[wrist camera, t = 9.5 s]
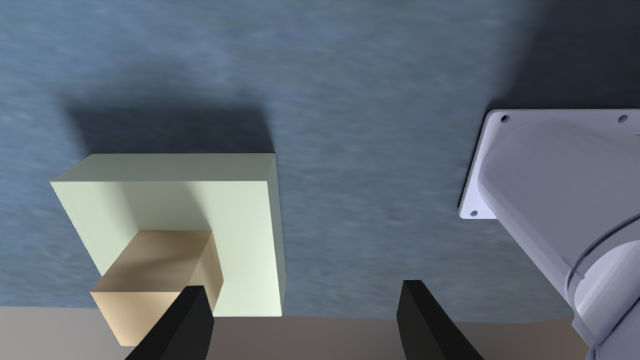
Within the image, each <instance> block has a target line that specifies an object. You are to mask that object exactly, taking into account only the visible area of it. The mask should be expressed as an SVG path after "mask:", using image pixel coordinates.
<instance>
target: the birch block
mask: <svg viewBox="0 0 640 360" xmlns="http://www.w3.org/2000/svg"><path fill="white" fill-rule="evenodd" d="M223 282H224V279H223V275H222V270H221V266H220V261H219V257H218V252H217V248H216V244H215V239H214V235H213V231H138V232H137V233H136V235H135V236H134V237H133V238H132V240H131V241H130V242H129V244H128V245H127V246H126V247H125V249H124V250H123V251H122V252H121V254H120V255H119V256H118V257H117V259H116V260H115V261H114V263H113V264H112V265H111V266H110V268H109V269H108V270H107V271H106V273H105V274H104V275H103V276H102V278H101V279H100V280H99V282H98V283H97V284H96V285H95V287H94V288H93V289H92V290H91V292H90V293H91V295H92V296H93V298H94V300H95V302H96V303H97V305H98V307H99V308H100V310H101V312H102V314H103V315H104V317H105V319H106V320H107V322H108V324H109V326H110V327H111V329H112V331H113V332H114V334H115V336H116V338H117V340H118V341H119V343H120V345H121V346H137V345H138V344H139V343H140V342H141V340H142V339H143V338H144V337H145V336H146V334H147V333H148V332H149V331H150V330H151V329H152V327H153V326H154V325H155V324H156V323H157V321H158V320H159V319H160V318H161V316H162V315H163V314H164V313H165V312H166V310H167V309H168V308H169V307H170V305H171V304H172V303H173V301H174V300H175V299H176V298H177V296H178V295H179V294H180V293H181V291H182V290H183V289H184V288H185V287H186V286H192V285H204V287H205V291H206V294H207V297H208V301H209V304H210V307H211V311H212V314H213V312H214V309H215V306H216V303H217V300H218V297H219V294H220V291H221V288H222V285H223Z"/></svg>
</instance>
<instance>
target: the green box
mask: <svg viewBox="0 0 640 360" xmlns="http://www.w3.org/2000/svg"><path fill="white" fill-rule="evenodd" d="M50 183H51V185H52V187H53V189H54V190H55V192H56V194H57V196H58V198H59V199H60V201H61V203H62V205H63V207H64V209H65V210H66V212H67V214H68V216H69V218H70V219H71V221H72V223H73V225H74V227H75V228H76V230H77V232H78V234H79V236H80V237H81V239H82V241H83V243H84V245H85V247H86V248H87V250H88V252H89V254H90V256H91V257H92V259H93V261H94V263H95V265H96V266H97V268H98V270H99V272H100V274H101V275H102V276H103V275H104V274H105V273H106V271H107V270H108V269H109V268H110V266H111V265H112V264H113V263H114V261H115V260H116V259H117V257H118V256H119V255H120V254H121V252H122V251H123V250H124V249H125V247H126V246H127V245H128V244H129V242H130V241H131V240H132V238H133V237H134V236H135V235H136V233H137V232H138V231H213V235H214V239H215V244H216V248H217V252H218V257H219V261H220V266H221V270H222V275H223V279H224V282H223V285H222V288H221V291H220V294H219V297H218V300H217V303H216V306H215V309H214V312H213V316H282V311H283V302H284V294H285V286H286V270H285V258H284V247H283V236H282V224H281V213H280V202H279V190H278V179H277V168H276V156H275V153H197V154H91V155H90V156H88V157H87V158H85V159H84V160H82V161H80V162H79V163H77V164H76V165H74V166H73V167H71V168H70V169H68V170H67V171H65V172H64V173H62V174H61V175H59V176H58V177H56V178H55V179H53V180H52V181H50Z"/></svg>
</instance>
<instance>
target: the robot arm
mask: <svg viewBox="0 0 640 360" xmlns="http://www.w3.org/2000/svg"><path fill="white" fill-rule="evenodd" d="M504 115H506V118H505V120H503V121H501V118H502V117H503V116H504ZM621 116H622V117H621ZM620 117H621V118H620ZM619 118H620V119H619ZM618 119H619V120H618ZM472 211H474V212H473V213H471V212H472ZM458 214H459V215H460V217H461V218H464V219H498V220H499V221H500V222H501V223H502V225H503V226H504V227H505V228H506V229H507V231H508V232H509V233H510V234H511V235H512V237H513V238H514V239H515V240H516V241H517V243H518V244H519V245H520V246H521V247H522V248H523V250H524V251H525V252H526V253H527V254H528V256H529V257H530V258H531V259H532V260H533V262H534V263H535V264H536V265H537V266H538V268H539V269H540V270H541V271H542V272H543V274H544V275H545V276H546V277H547V278H548V280H549V281H550V282H551V283H552V284H553V286H554V287H555V288H556V289H557V290H558V292H559V293H560V294H561V295H562V296H563V298H564V299H565V300H566V301H567V302H568V304H569V305H570V306H571V307H572V308H573V310H574V312H575V318H574V320H573V322H572V326H573V327H574V328H575V330H576V331H577V332H578V333H579V335H580V336H581V337H582V338H583V340H584V341H585V342H586V344H587V345H588V346H589V347H590V349H589V351H588V353H587V355H586V357H585V360H640V109H495V110H492V111H490V112H489V113H488V114H487V116H486V118H485V122H484V125H483V128H482V132H481V135H480V139H479V142H478V145H477V149H476V152H475V155H474V159H473V162H472V166H471V169H470V172H469V176H468V179H467V182H466V186H465V189H464V193H463V196H462V199H461V203H460V206H459V210H458ZM396 316H397V321H398V327H399V332H400V337H401V341H402V346H403V349H404V353H405V356H406V359H407V360H484V359H483V357H482V356H481V355H480V354H479V353H478V352H477V351H476V350H475V349H474V347H473V346H472V345H471V344H470V342H469V341H468V340H467V339H466V338H465V336H464V335H463V334H462V333H461V331H460V330H459V329H458V328H457V327H456V325H455V324H454V323H453V322H452V320H451V319H450V318H449V317H448V315H447V314H446V313H445V311H444V310H443V309H442V307H441V306H440V305H439V304H438V302H437V301H436V300H435V298H434V297H433V295H432V294H431V293H430V291H429V290H428V289H427V287H426V286H425V284H424V283H423V282H422V281H421V280H404V281H403V286H402V291H401V296H400V301H399V305H398V310H397V315H396ZM213 325H214V317H213V314H212V311H211V307H210V304H209V301H208V297H207V294H206V291H205V287H204V285H192V286H186V287H185V288H184V289H183V290H182V291H181V293H180V294H179V295H178V296H177V298H176V299H175V300H174V301H173V303H172V304H171V305H170V307H169V308H168V309H167V310H166V312H165V313H164V314H163V315H162V316H161V318H160V319H159V320H158V321H157V323H156V324H155V325H154V326H153V327H152V329H151V330H150V331H149V332H148V333H147V334H146V336H145V337H144V338H143V339H142V340H141V342H140V343H139V344H138V345H137V346H136V347H135V349H134V350H133V351H132V352H131V353H130V354H129V355H128V357H127V358H126V359H125V360H205V359H206V356H207V353H208V349H209V345H210V339H211V335H212V330H213Z"/></svg>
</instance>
